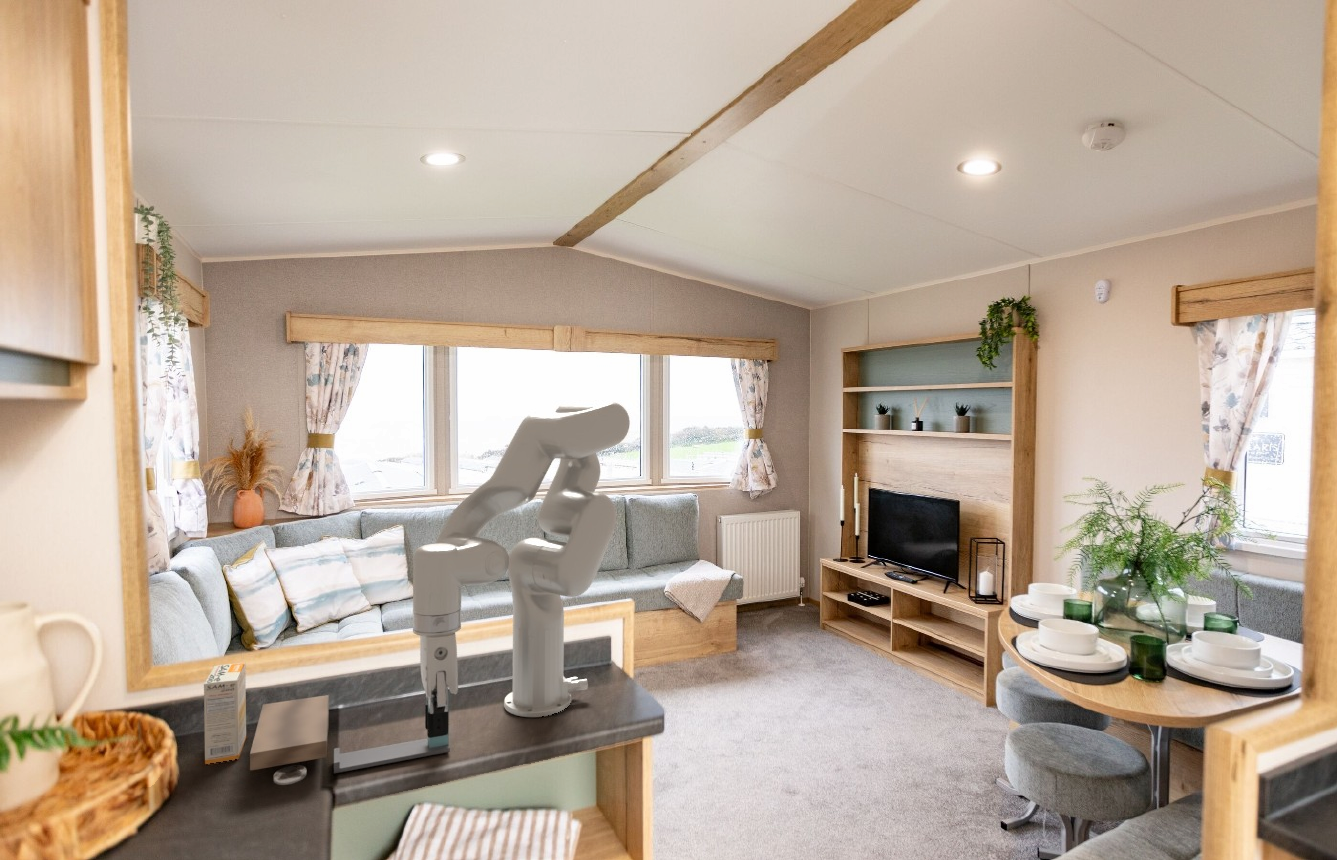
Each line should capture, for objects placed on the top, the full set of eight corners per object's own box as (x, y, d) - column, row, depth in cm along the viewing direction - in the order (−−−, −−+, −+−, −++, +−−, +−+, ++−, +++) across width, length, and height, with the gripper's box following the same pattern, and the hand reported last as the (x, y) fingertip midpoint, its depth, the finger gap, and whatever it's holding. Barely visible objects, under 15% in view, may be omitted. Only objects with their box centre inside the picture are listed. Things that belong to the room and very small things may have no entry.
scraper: (445, 738, 119) (445, 682, 118) (449, 751, 114) (449, 693, 114) (334, 758, 111) (333, 698, 111) (333, 773, 107) (333, 711, 107)
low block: (328, 727, 123) (328, 695, 123) (326, 778, 107) (326, 740, 106) (263, 737, 119) (262, 704, 119) (250, 792, 102) (249, 753, 102)
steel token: (307, 769, 110) (307, 763, 110) (306, 783, 106) (306, 776, 106) (274, 775, 108) (274, 769, 108) (272, 789, 104) (272, 783, 104)
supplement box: (213, 743, 117) (212, 665, 117) (246, 738, 119) (246, 661, 119) (203, 766, 110) (202, 683, 109) (238, 760, 111) (238, 678, 111)
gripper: (469, 632, 109) (468, 749, 110) (453, 605, 124) (453, 709, 124) (417, 638, 106) (417, 758, 107) (408, 610, 121) (408, 716, 121)
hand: (436, 730), depth 116 cm, fingers closed on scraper
